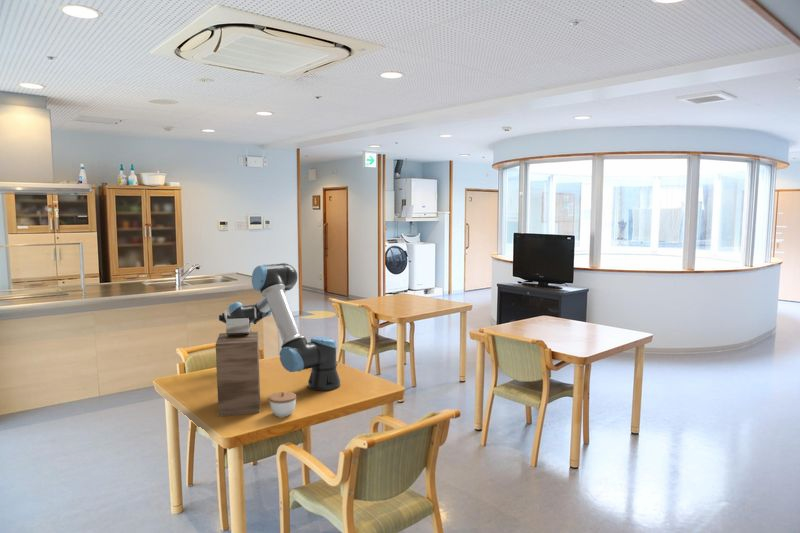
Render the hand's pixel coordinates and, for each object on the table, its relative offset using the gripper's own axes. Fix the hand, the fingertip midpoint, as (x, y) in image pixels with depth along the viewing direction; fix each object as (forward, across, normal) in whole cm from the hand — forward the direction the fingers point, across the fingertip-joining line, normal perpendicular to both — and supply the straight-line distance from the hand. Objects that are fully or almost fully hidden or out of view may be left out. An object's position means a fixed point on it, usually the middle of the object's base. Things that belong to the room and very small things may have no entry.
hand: (240, 311), depth 256 cm
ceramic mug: (-39, -43, -19) cm, 61 cm away
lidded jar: (+19, -18, -52) cm, 58 cm away
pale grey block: (+10, 0, -16) cm, 18 cm away
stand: (+7, 0, -45) cm, 46 cm away
